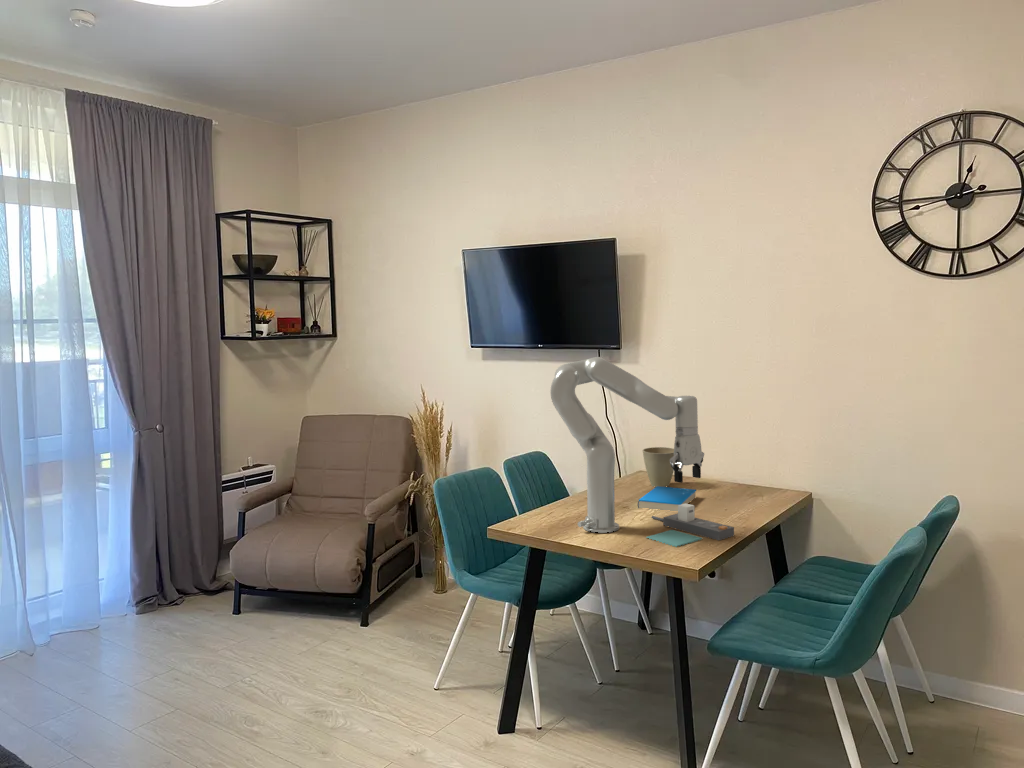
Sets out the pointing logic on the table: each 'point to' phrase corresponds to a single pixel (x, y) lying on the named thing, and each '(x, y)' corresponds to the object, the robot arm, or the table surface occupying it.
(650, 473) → the plant pot
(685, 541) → the mat
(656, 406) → the robot arm
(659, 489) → the book
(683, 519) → the charger plug
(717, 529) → the power strip
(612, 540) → the table surface
